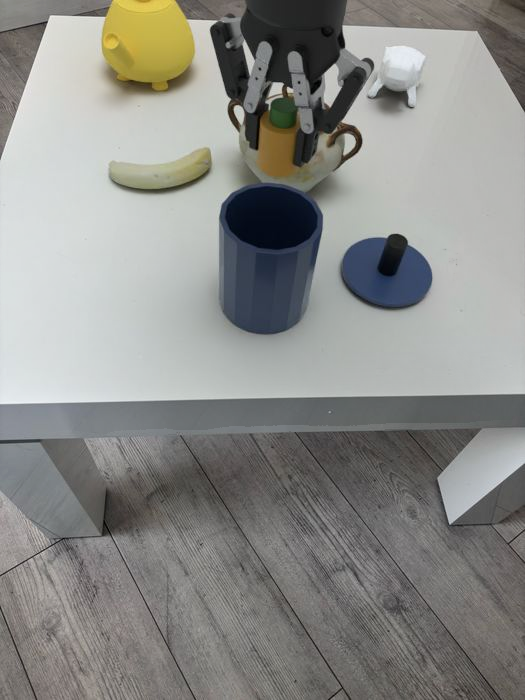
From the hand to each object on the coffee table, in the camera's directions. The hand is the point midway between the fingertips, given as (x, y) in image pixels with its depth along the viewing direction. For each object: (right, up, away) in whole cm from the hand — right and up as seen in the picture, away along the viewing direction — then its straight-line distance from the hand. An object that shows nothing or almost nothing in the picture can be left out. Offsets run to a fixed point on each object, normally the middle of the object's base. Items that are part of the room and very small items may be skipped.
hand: (279, 152), depth 51 cm
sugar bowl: (+2, +7, +31) cm, 32 cm away
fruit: (-16, +8, +30) cm, 35 cm away
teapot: (-22, +29, +44) cm, 57 cm away
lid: (+15, -8, +20) cm, 26 cm away
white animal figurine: (+22, +27, +46) cm, 58 cm away
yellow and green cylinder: (0, -1, +1) cm, 1 cm away
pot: (-2, -12, +17) cm, 21 cm away
